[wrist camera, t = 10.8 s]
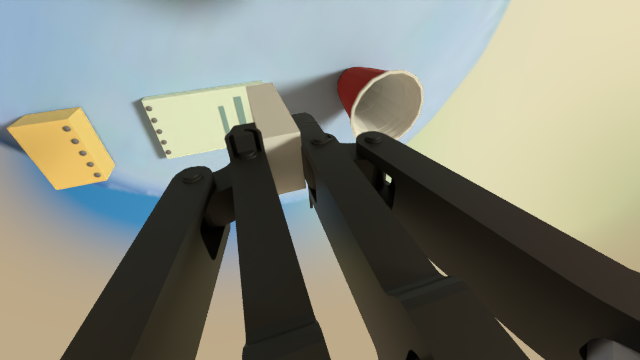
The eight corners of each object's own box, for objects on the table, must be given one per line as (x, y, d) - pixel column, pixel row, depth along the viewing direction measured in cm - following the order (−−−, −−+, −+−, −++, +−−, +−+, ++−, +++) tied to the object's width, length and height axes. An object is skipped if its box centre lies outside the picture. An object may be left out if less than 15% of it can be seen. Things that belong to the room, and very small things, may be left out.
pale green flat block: (143, 97, 37) (141, 101, 36) (261, 80, 40) (263, 83, 39) (169, 154, 43) (167, 159, 41) (271, 135, 46) (273, 139, 45)
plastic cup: (342, 129, 49) (372, 163, 40) (309, 80, 43) (336, 107, 33) (392, 91, 48) (435, 117, 39) (367, 34, 41) (411, 50, 32)
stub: (25, 114, 34) (5, 128, 31) (80, 107, 35) (66, 119, 32) (68, 173, 40) (55, 190, 36) (115, 165, 41) (106, 180, 38)
